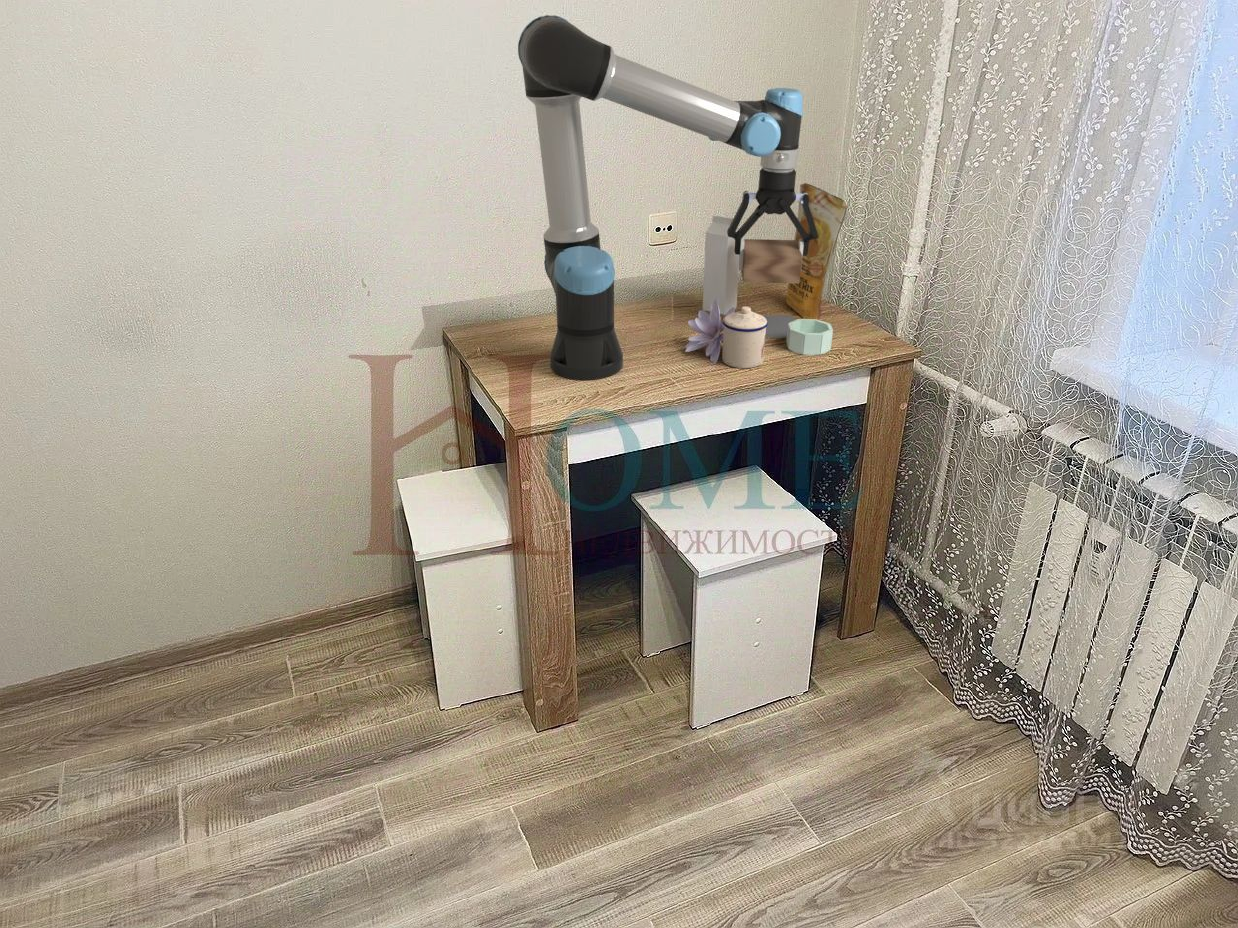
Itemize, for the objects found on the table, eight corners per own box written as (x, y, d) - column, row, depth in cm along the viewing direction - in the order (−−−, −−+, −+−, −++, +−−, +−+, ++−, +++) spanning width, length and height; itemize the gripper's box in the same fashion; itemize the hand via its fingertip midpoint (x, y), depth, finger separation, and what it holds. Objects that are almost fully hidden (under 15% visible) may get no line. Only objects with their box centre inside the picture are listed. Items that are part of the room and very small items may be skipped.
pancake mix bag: (803, 296, 229) (814, 180, 216) (836, 323, 213) (850, 200, 200) (777, 298, 228) (786, 182, 214) (809, 326, 212) (821, 202, 198)
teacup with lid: (771, 366, 192) (775, 313, 186) (730, 371, 190) (733, 317, 184) (749, 345, 202) (752, 293, 196) (709, 349, 200) (712, 298, 194)
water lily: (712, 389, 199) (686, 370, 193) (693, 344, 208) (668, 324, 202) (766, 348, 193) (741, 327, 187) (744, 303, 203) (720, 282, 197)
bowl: (789, 356, 197) (791, 334, 194) (784, 340, 205) (786, 318, 202) (832, 357, 197) (835, 335, 194) (825, 340, 204) (828, 319, 202)
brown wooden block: (743, 282, 200) (745, 255, 197) (739, 265, 211) (741, 239, 208) (799, 283, 200) (802, 256, 197) (793, 266, 210) (795, 240, 207)
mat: (736, 338, 206) (736, 337, 206) (733, 316, 218) (733, 314, 218) (800, 339, 205) (800, 338, 205) (793, 316, 217) (793, 315, 217)
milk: (714, 304, 225) (719, 212, 214) (736, 309, 222) (742, 216, 211) (701, 311, 221) (705, 218, 210) (724, 316, 218) (729, 222, 207)
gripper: (720, 171, 191) (714, 273, 202) (839, 173, 190) (827, 276, 201) (719, 163, 198) (713, 263, 208) (834, 165, 197) (822, 265, 207)
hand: (769, 269), depth 205 cm, fingers closed on brown wooden block, 12 cm apart
